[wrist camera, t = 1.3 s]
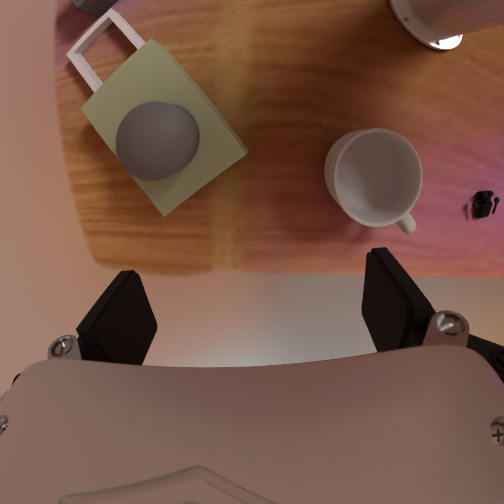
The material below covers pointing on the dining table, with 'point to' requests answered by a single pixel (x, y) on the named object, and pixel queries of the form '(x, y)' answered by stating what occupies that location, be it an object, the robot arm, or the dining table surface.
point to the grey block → (94, 6)
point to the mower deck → (165, 88)
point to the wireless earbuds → (484, 204)
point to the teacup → (375, 177)
